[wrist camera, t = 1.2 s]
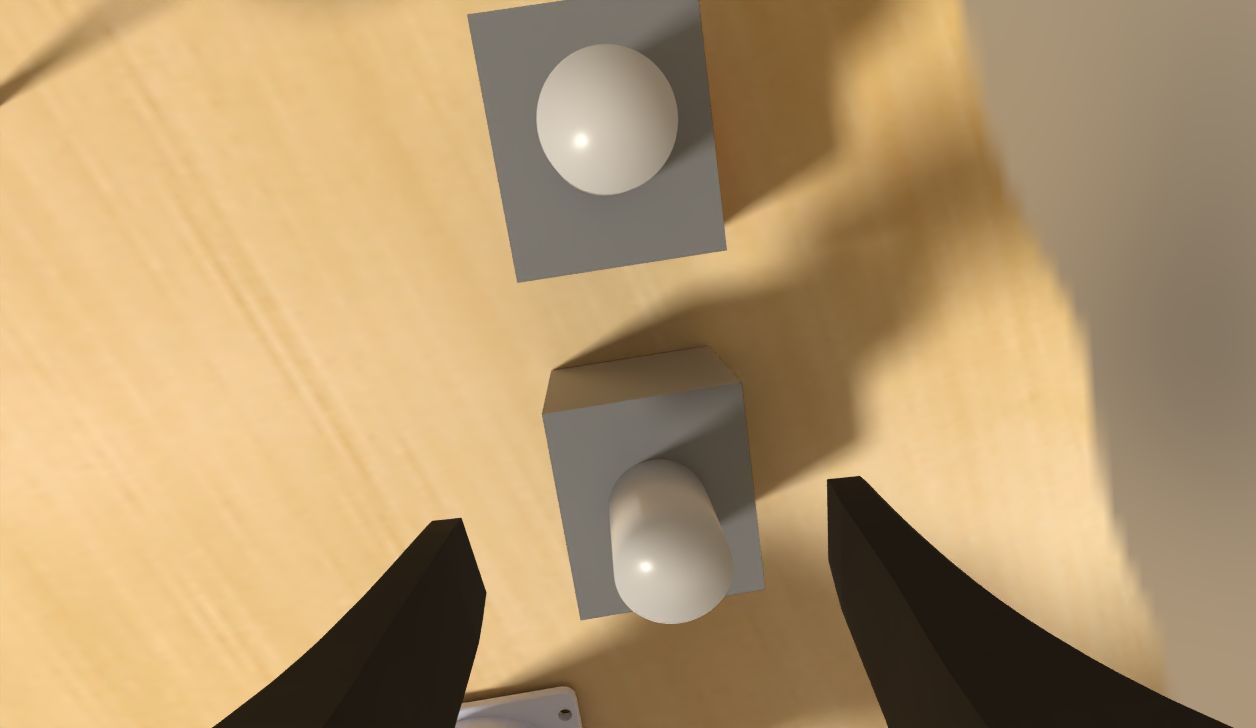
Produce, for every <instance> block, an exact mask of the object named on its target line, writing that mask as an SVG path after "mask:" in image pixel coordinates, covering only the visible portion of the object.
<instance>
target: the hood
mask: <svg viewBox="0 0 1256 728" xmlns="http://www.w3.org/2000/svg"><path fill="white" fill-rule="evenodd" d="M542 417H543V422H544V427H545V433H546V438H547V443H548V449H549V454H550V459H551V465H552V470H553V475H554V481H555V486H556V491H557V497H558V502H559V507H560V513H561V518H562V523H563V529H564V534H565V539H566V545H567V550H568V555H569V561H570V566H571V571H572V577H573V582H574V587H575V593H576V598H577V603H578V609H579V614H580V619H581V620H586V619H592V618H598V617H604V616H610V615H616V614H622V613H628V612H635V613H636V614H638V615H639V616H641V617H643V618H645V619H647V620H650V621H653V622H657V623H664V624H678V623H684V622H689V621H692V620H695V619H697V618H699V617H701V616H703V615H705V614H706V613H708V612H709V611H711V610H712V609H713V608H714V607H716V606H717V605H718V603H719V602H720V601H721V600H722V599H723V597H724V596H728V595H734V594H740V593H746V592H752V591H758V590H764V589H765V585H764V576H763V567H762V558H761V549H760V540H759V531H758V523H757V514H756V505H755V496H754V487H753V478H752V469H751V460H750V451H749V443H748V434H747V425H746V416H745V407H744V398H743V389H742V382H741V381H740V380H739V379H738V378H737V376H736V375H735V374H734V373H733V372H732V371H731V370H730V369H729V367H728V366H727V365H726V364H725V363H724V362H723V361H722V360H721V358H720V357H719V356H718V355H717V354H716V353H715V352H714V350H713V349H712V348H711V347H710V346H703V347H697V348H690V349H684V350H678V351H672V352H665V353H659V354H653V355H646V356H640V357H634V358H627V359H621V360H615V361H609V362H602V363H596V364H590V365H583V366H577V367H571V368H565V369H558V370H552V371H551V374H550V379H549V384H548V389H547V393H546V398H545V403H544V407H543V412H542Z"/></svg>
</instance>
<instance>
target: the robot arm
mask: <svg viewBox="0 0 1256 728" xmlns="http://www.w3.org/2000/svg"><path fill="white" fill-rule="evenodd" d="M827 507H828V560H829V564H830V568H831V572H832V576H833V580H834V583H835V587H836V591H837V594H838V598H839V602H840V605H841V609H842V612H843V614H844V617H845V619H846V622H847V625H848V627H849V630H850V632H851V635H852V637H853V640H854V642H855V645H856V647H857V650H858V652H859V655H860V657H861V660H862V662H863V665H864V667H865V670H866V672H867V675H868V677H869V680H870V682H871V685H872V687H873V690H874V692H875V695H876V697H877V700H878V702H879V705H880V707H881V710H882V712H883V715H884V717H885V720H886V722H887V725H888V728H1233V727H1231V726H1228V725H1226V724H1224V723H1222V722H1220V721H1217V720H1215V719H1213V718H1210V717H1208V716H1206V715H1204V714H1202V713H1199V712H1197V711H1195V710H1193V709H1190V708H1188V707H1186V706H1184V705H1182V704H1180V703H1177V702H1175V701H1173V700H1171V699H1169V698H1167V697H1165V696H1163V695H1161V694H1159V693H1157V692H1155V691H1153V690H1151V689H1149V688H1147V687H1145V686H1143V685H1141V684H1139V683H1137V682H1135V681H1133V680H1131V679H1129V678H1127V677H1125V676H1123V675H1122V674H1120V673H1118V672H1116V671H1114V670H1112V669H1110V668H1109V667H1107V666H1105V665H1103V664H1101V663H1099V662H1098V661H1096V660H1094V659H1092V658H1090V657H1089V656H1087V655H1085V654H1084V653H1082V652H1080V651H1079V650H1077V649H1075V648H1074V647H1072V646H1070V645H1069V644H1067V643H1065V642H1063V641H1062V640H1060V639H1058V638H1057V637H1055V636H1053V635H1052V634H1050V633H1048V632H1047V631H1045V630H1044V629H1042V628H1041V627H1039V626H1037V625H1036V624H1034V623H1033V622H1031V621H1030V620H1028V619H1027V618H1025V617H1024V616H1022V615H1021V614H1019V613H1018V612H1016V611H1015V610H1014V609H1012V608H1011V607H1009V606H1008V605H1006V604H1005V603H1003V602H1002V601H1001V600H999V599H998V598H996V597H995V596H994V595H992V594H991V593H990V592H988V591H987V590H986V589H984V588H983V587H982V586H981V585H979V584H978V583H977V582H975V581H974V580H973V579H972V578H970V577H969V576H968V575H967V574H965V573H964V572H963V571H962V570H961V569H959V568H958V567H957V566H956V565H954V564H953V563H952V562H951V561H950V560H948V559H947V558H946V557H945V556H944V555H943V554H941V553H940V552H939V551H938V550H937V549H936V548H935V547H934V546H932V545H931V544H930V543H929V542H928V541H927V540H926V539H925V538H924V537H922V536H921V535H920V534H919V533H918V532H917V531H916V530H915V529H914V528H913V527H911V526H910V525H909V524H908V523H907V522H906V521H905V520H904V519H903V518H902V517H901V516H900V515H899V514H898V513H897V512H896V511H895V510H894V509H893V508H892V507H891V506H890V505H889V504H888V503H887V502H886V501H885V500H884V499H883V498H882V497H881V496H880V495H879V494H878V493H877V492H876V491H875V490H874V489H873V488H872V487H871V486H870V485H869V484H868V483H867V482H866V481H865V480H864V479H863V478H862V477H860V476H855V477H845V478H836V479H827ZM485 599H486V590H485V587H484V584H483V581H482V578H481V575H480V572H479V569H478V566H477V563H476V560H475V557H474V554H473V551H472V548H471V545H470V542H469V539H468V536H467V533H466V530H465V527H464V524H463V521H462V518H455V519H446V520H436V521H432V522H431V523H430V524H429V525H428V526H427V527H426V528H425V529H424V530H423V531H422V532H421V533H420V534H419V536H418V537H417V538H416V539H415V540H414V541H413V542H412V543H411V544H410V546H409V547H408V548H407V549H406V550H405V551H404V552H403V553H402V555H401V556H400V557H399V558H398V559H397V560H396V561H395V562H394V563H393V565H392V566H391V567H390V568H389V569H388V570H387V571H386V572H385V573H384V574H383V576H382V577H381V578H380V579H379V580H378V581H377V582H376V583H375V584H374V585H373V586H372V587H371V589H370V590H369V591H368V592H367V593H366V594H365V595H364V596H363V597H362V598H361V599H360V600H359V601H358V602H357V603H356V604H355V605H354V606H353V607H352V608H351V609H350V610H349V611H348V612H347V613H346V614H345V615H344V616H343V617H342V618H341V619H340V620H339V621H338V622H337V623H336V624H335V625H334V626H333V627H332V628H331V629H330V630H329V631H328V632H327V633H326V634H325V635H324V636H323V637H322V638H321V639H320V640H319V641H318V642H317V643H316V644H315V645H314V646H313V647H312V648H310V649H309V650H308V651H307V652H306V653H305V654H304V655H303V656H302V657H300V658H299V659H298V660H297V661H296V662H295V663H293V664H292V665H291V666H290V667H289V668H288V669H287V670H285V671H284V672H283V673H282V674H281V675H280V676H278V677H277V678H276V679H275V680H274V681H272V682H271V683H270V684H269V685H267V686H266V687H265V688H264V689H262V690H261V691H260V692H258V693H257V694H256V695H255V696H253V697H252V698H251V699H249V700H248V701H247V702H245V703H244V704H243V705H241V706H240V707H239V708H238V709H236V710H235V711H234V712H232V713H231V714H230V715H228V716H227V717H226V718H224V719H223V720H222V721H221V722H219V723H218V724H216V725H215V726H214V727H212V728H582V722H581V717H580V712H579V707H578V702H577V697H576V694H575V691H574V690H572V689H571V688H569V687H566V686H561V687H555V688H549V689H543V690H537V691H531V692H526V693H520V694H514V695H508V696H502V697H496V698H490V699H485V700H479V701H473V702H467V703H462V701H463V698H464V694H465V691H466V687H467V684H468V680H469V677H470V673H471V670H472V666H473V662H474V659H475V655H476V651H477V648H478V644H479V639H480V633H481V627H482V621H483V614H484V607H485ZM563 709H568V710H570V712H569V713H562V712H560V711H561V710H563Z"/></svg>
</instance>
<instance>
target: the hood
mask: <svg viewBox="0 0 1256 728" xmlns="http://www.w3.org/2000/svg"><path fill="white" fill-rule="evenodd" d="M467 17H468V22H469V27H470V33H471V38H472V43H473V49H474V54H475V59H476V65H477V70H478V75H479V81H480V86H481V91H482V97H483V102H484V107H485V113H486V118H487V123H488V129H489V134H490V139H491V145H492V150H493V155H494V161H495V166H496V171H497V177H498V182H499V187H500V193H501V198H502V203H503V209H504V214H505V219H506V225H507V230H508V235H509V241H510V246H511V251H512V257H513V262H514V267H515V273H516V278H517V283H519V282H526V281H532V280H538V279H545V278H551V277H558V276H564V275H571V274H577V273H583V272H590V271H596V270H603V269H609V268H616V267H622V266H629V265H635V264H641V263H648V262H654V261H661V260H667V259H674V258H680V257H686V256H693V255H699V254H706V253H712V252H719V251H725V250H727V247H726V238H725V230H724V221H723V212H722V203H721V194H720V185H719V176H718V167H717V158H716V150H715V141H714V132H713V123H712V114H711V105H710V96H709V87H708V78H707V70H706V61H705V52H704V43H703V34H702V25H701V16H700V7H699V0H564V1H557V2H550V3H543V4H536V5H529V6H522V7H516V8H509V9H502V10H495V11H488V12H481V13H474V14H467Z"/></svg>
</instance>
